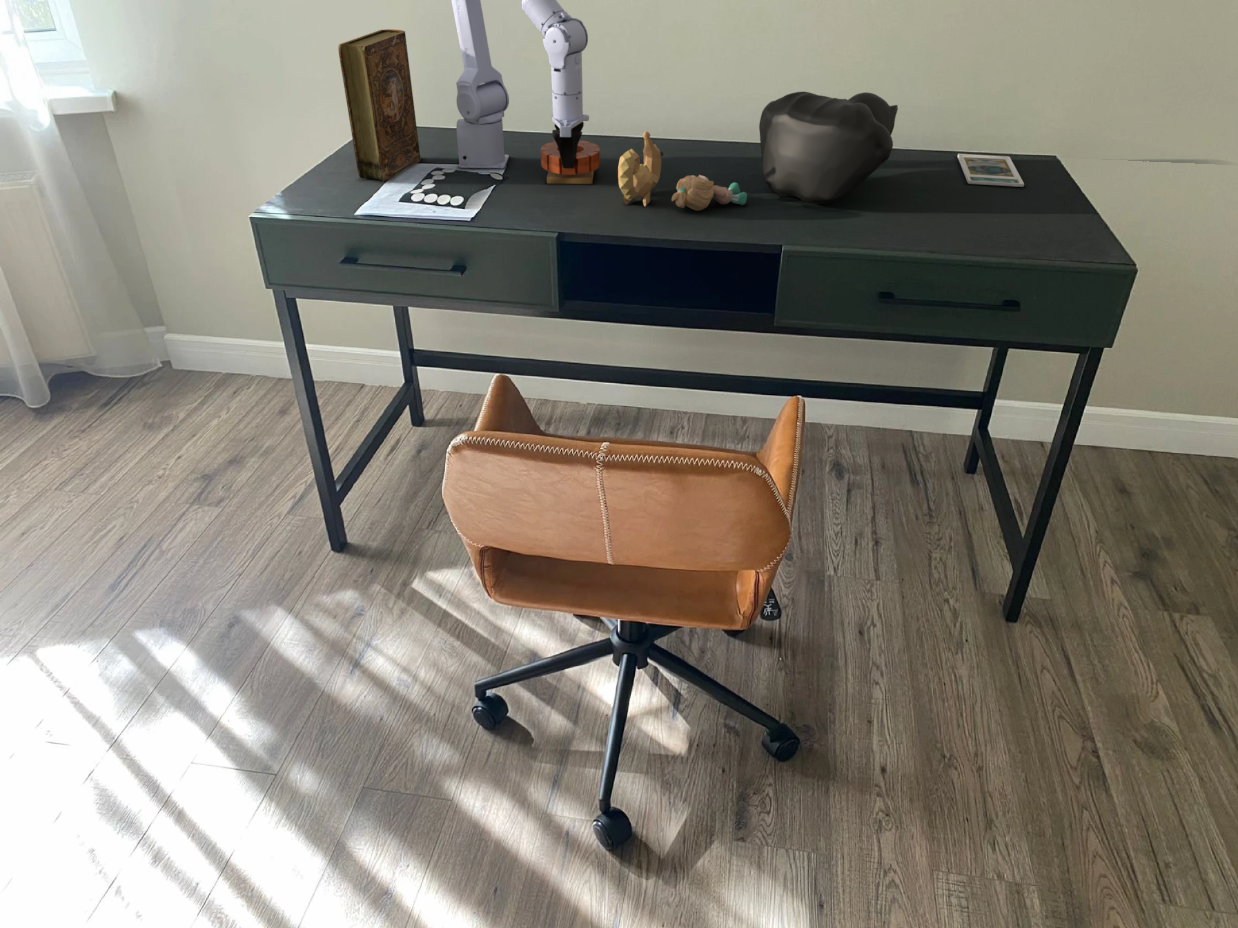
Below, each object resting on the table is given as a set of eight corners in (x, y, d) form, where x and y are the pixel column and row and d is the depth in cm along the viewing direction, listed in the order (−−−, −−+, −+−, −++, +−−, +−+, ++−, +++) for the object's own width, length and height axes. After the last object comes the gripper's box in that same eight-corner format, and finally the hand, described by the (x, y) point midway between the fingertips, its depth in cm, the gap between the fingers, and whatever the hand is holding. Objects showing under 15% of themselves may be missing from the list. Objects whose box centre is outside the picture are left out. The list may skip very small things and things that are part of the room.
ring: (539, 174, 177) (538, 157, 175) (544, 155, 186) (543, 139, 184) (598, 175, 177) (598, 159, 175) (600, 156, 186) (600, 140, 184)
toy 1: (608, 151, 157) (644, 120, 173) (608, 218, 165) (643, 182, 180) (637, 154, 156) (671, 122, 171) (636, 222, 163) (668, 186, 178)
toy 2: (756, 182, 167) (686, 164, 160) (749, 220, 168) (679, 204, 161) (732, 185, 174) (664, 168, 167) (726, 222, 175) (658, 206, 169)
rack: (546, 183, 179) (545, 154, 176) (550, 169, 187) (549, 141, 183) (592, 184, 179) (591, 155, 176) (594, 169, 187) (593, 141, 183)
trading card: (1009, 156, 193) (1024, 184, 178) (1008, 159, 193) (1023, 187, 179) (957, 153, 194) (968, 180, 180) (957, 156, 195) (967, 183, 180)
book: (400, 156, 193) (383, 29, 178) (423, 159, 192) (408, 30, 177) (359, 180, 180) (337, 45, 166) (383, 183, 179) (363, 47, 164)
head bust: (729, 109, 167) (820, 47, 181) (735, 206, 182) (819, 142, 195) (860, 139, 152) (950, 69, 166) (856, 243, 166) (938, 171, 180)
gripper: (586, 102, 164) (587, 176, 172) (590, 82, 175) (591, 153, 183) (547, 101, 164) (550, 176, 172) (554, 82, 175) (556, 153, 183)
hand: (569, 164), depth 177 cm, fingers closed on ring, 3 cm apart
